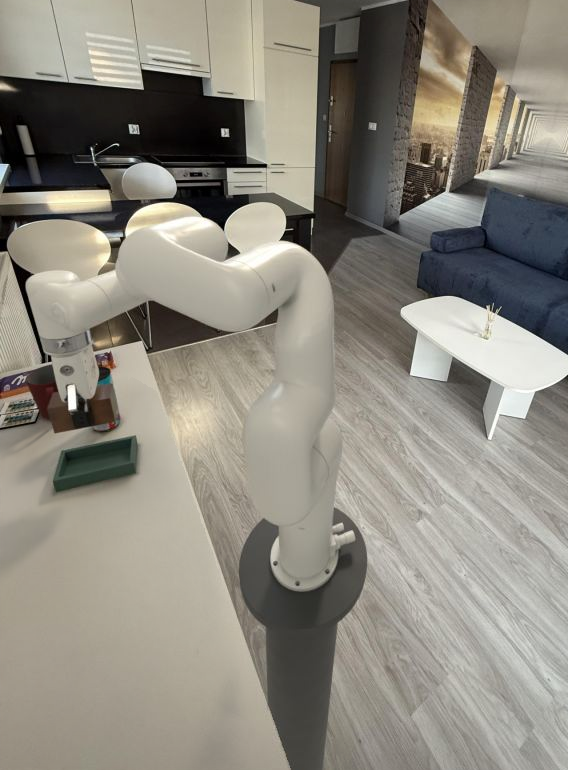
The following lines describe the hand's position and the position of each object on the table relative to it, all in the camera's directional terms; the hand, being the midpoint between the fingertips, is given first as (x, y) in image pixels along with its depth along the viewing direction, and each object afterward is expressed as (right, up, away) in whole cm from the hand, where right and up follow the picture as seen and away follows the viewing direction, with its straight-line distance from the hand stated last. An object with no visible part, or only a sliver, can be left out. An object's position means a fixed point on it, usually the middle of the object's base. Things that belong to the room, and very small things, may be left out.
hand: (87, 416), depth 79 cm
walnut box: (0, -1, 0) cm, 1 cm away
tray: (-2, -13, +6) cm, 15 cm away
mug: (-21, -5, +20) cm, 29 cm away
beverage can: (-7, -7, +18) cm, 21 cm away
